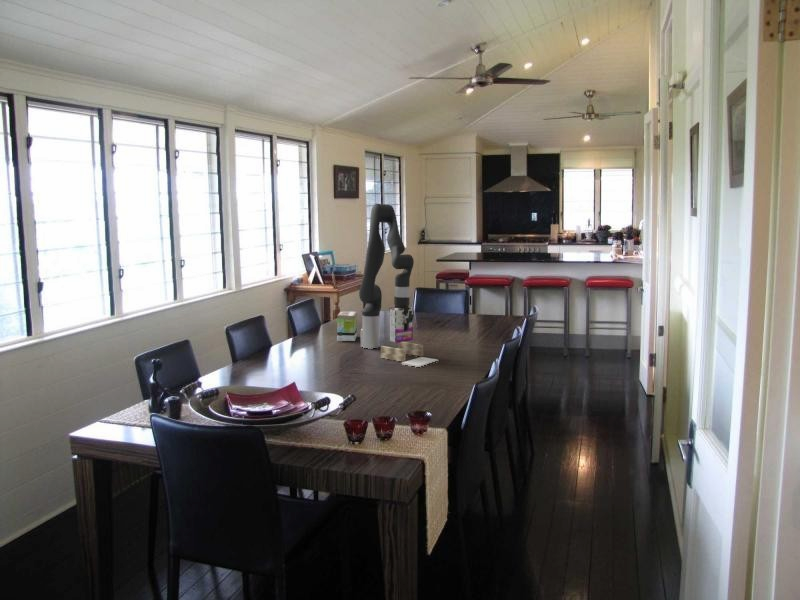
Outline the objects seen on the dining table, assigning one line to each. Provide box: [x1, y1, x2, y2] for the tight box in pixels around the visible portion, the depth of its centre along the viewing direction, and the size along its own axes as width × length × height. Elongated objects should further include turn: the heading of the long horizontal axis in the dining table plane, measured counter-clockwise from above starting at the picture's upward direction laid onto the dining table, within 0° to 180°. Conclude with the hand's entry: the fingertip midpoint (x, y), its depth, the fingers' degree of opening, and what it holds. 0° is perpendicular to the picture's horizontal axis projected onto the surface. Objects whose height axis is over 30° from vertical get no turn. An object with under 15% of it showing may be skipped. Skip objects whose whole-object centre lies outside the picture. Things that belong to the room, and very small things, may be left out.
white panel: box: [400, 356, 439, 368], centre depth 323 cm, size 10×16×1 cm, turn 142°
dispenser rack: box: [380, 341, 424, 363], centre depth 335 cm, size 14×15×6 cm
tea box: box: [336, 311, 358, 342], centre depth 379 cm, size 15×10×15 cm
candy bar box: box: [389, 306, 414, 344], centre depth 333 cm, size 11×5×16 cm, turn 129°
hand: (401, 329), depth 333 cm, fingers closed on candy bar box, 5 cm apart
